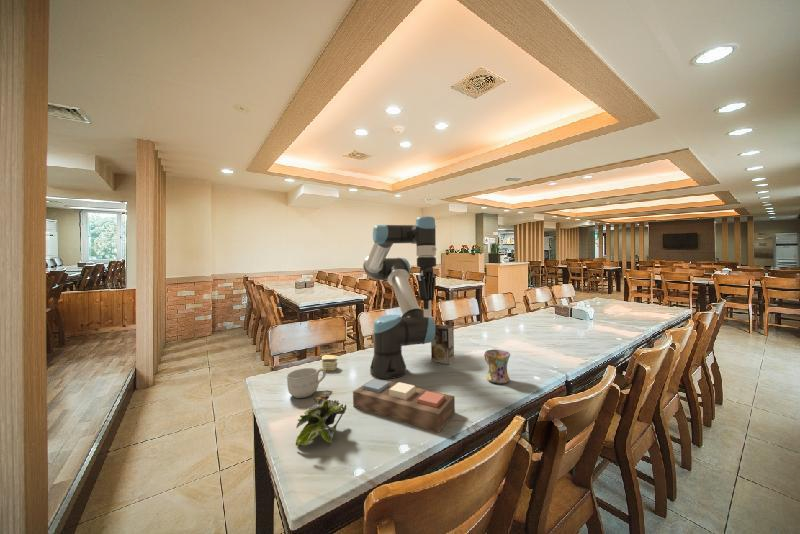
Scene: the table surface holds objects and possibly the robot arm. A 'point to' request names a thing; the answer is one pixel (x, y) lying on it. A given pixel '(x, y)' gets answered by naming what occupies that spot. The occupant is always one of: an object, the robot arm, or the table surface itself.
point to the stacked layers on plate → (329, 362)
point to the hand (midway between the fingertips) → (427, 316)
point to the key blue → (376, 386)
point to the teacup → (304, 381)
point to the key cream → (402, 391)
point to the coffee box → (443, 344)
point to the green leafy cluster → (319, 420)
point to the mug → (497, 365)
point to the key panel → (405, 407)
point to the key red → (431, 399)
